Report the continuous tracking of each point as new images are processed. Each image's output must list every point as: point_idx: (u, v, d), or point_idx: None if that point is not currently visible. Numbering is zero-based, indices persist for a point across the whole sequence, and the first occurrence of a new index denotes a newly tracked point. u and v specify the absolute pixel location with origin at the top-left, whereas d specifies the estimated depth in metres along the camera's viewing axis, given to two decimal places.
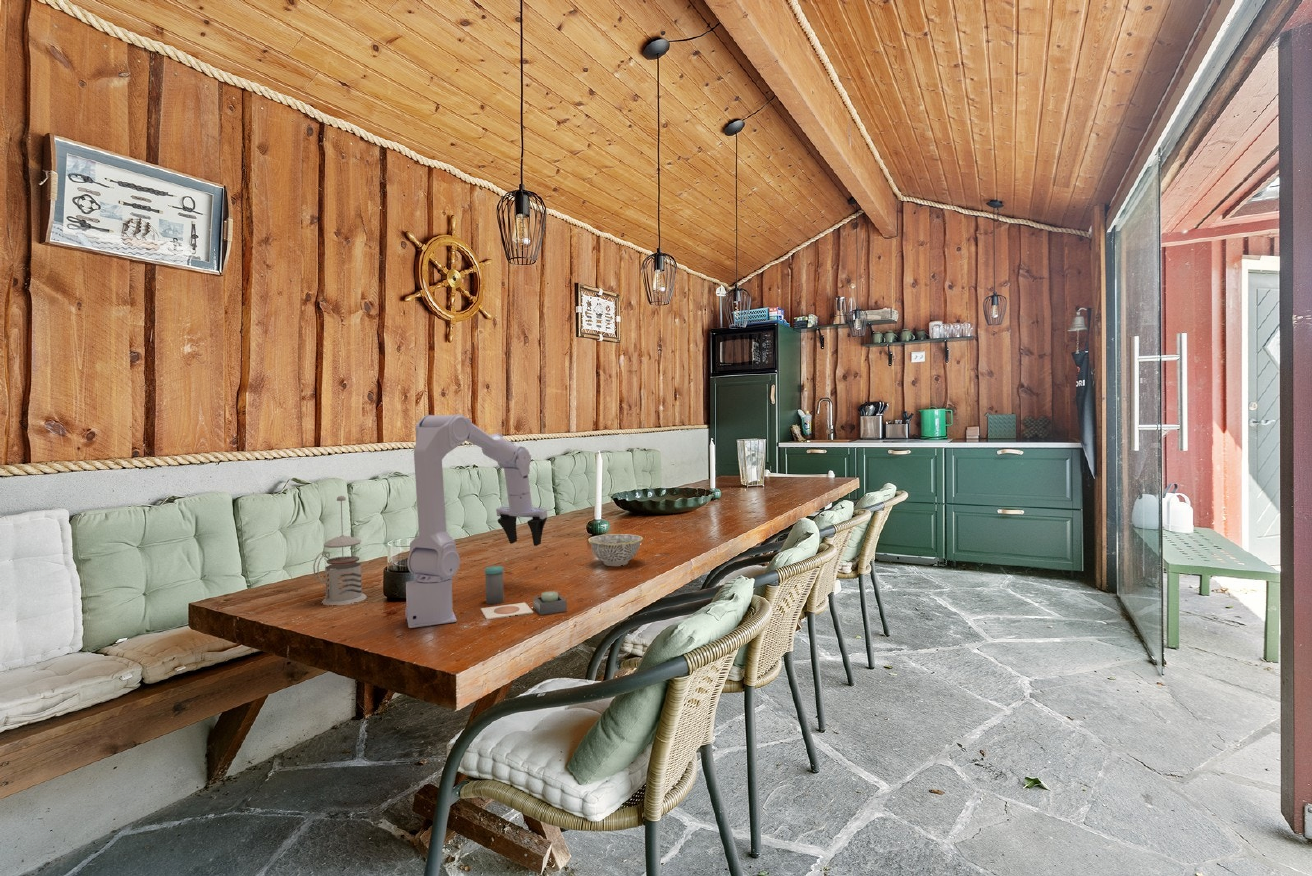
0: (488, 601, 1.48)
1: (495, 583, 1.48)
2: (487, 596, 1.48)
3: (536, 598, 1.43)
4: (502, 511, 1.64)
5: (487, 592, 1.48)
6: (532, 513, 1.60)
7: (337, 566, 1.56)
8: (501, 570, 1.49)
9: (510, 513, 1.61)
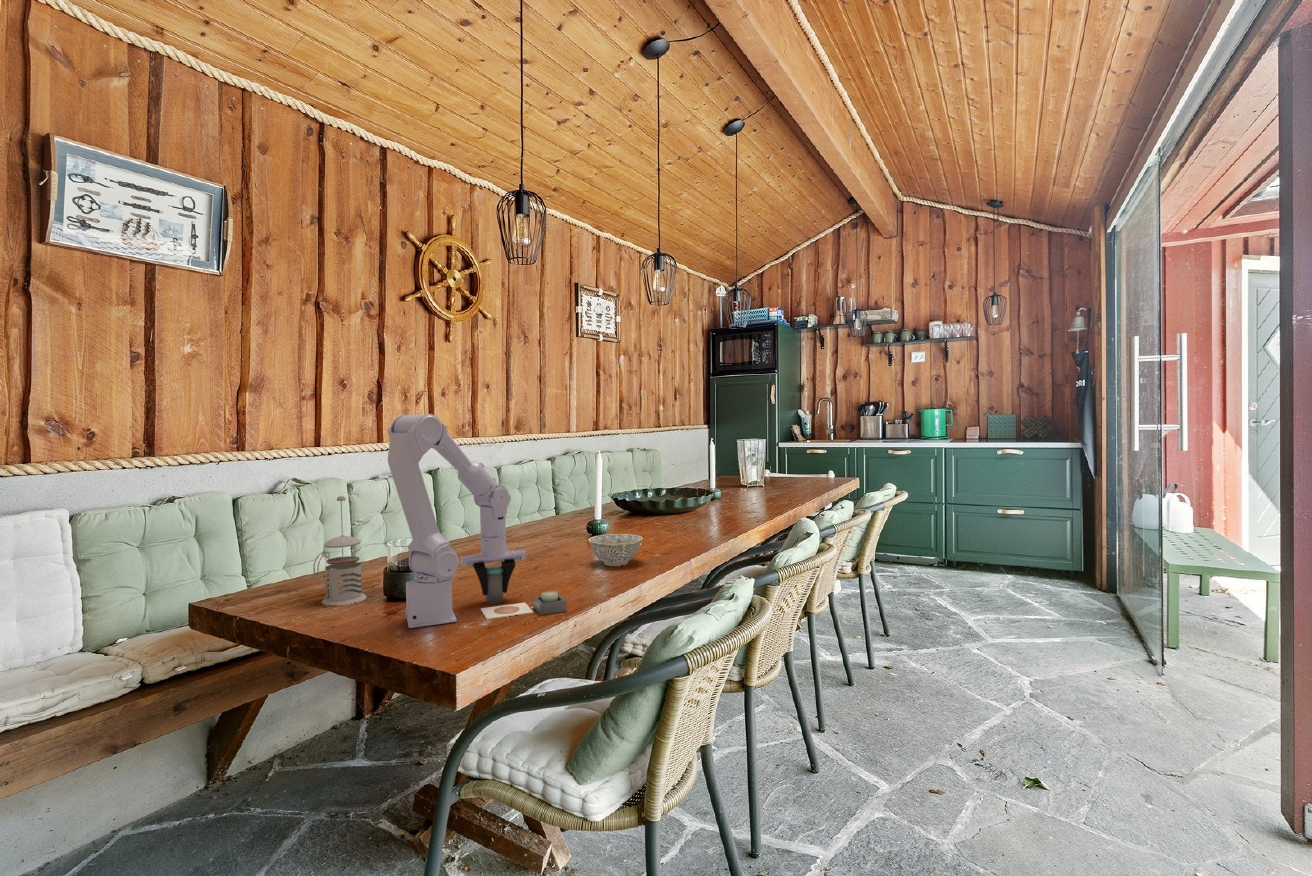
0: (488, 601, 1.48)
1: (495, 583, 1.48)
2: (487, 596, 1.48)
3: (536, 598, 1.43)
4: (473, 559, 1.46)
5: (487, 592, 1.48)
6: (515, 554, 1.50)
7: (337, 566, 1.56)
8: (501, 570, 1.49)
9: (490, 558, 1.46)
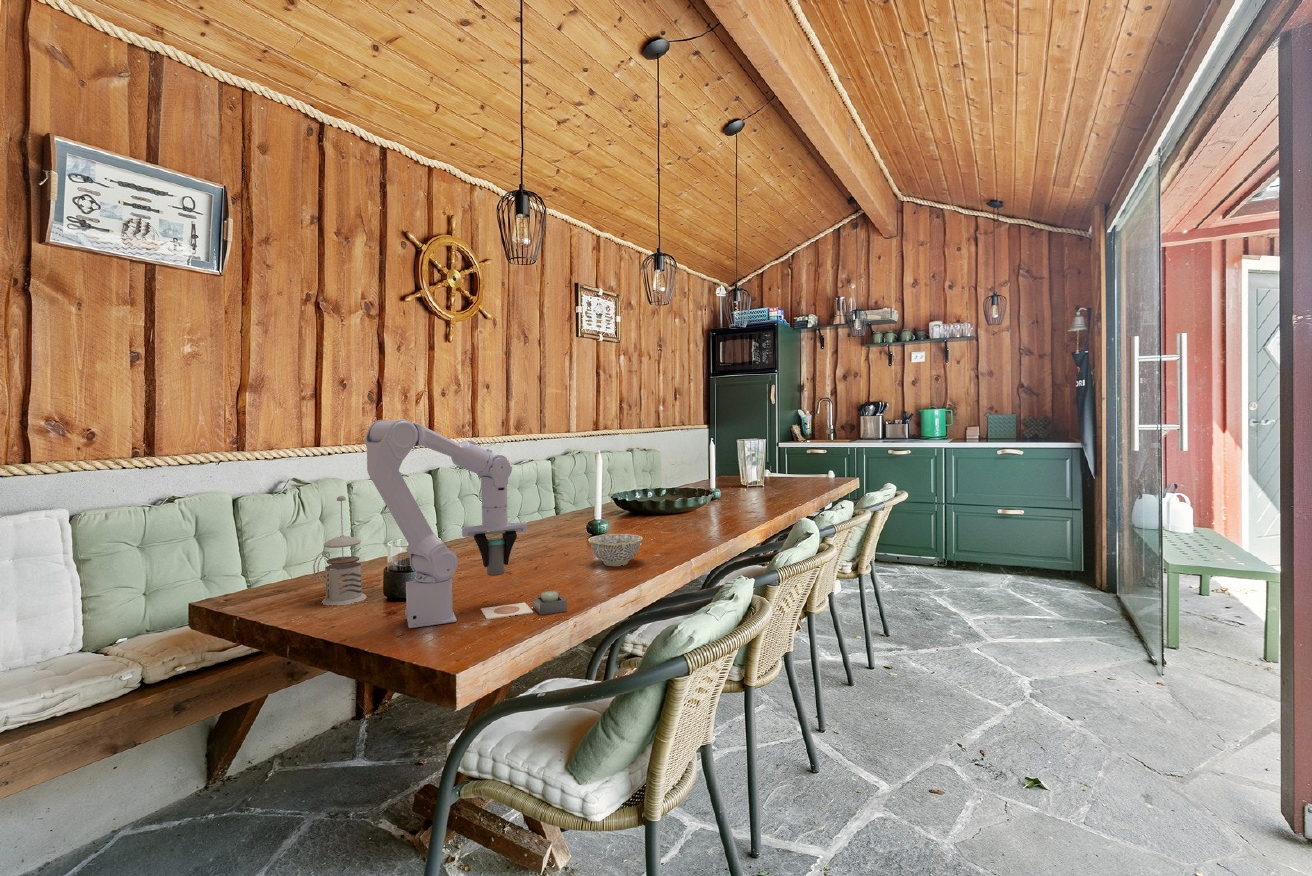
0: (489, 572, 1.46)
1: (496, 555, 1.46)
2: (488, 568, 1.46)
3: (536, 598, 1.43)
4: (474, 529, 1.44)
5: (488, 564, 1.46)
6: (516, 526, 1.48)
7: (337, 566, 1.56)
8: (502, 541, 1.47)
9: (491, 529, 1.45)
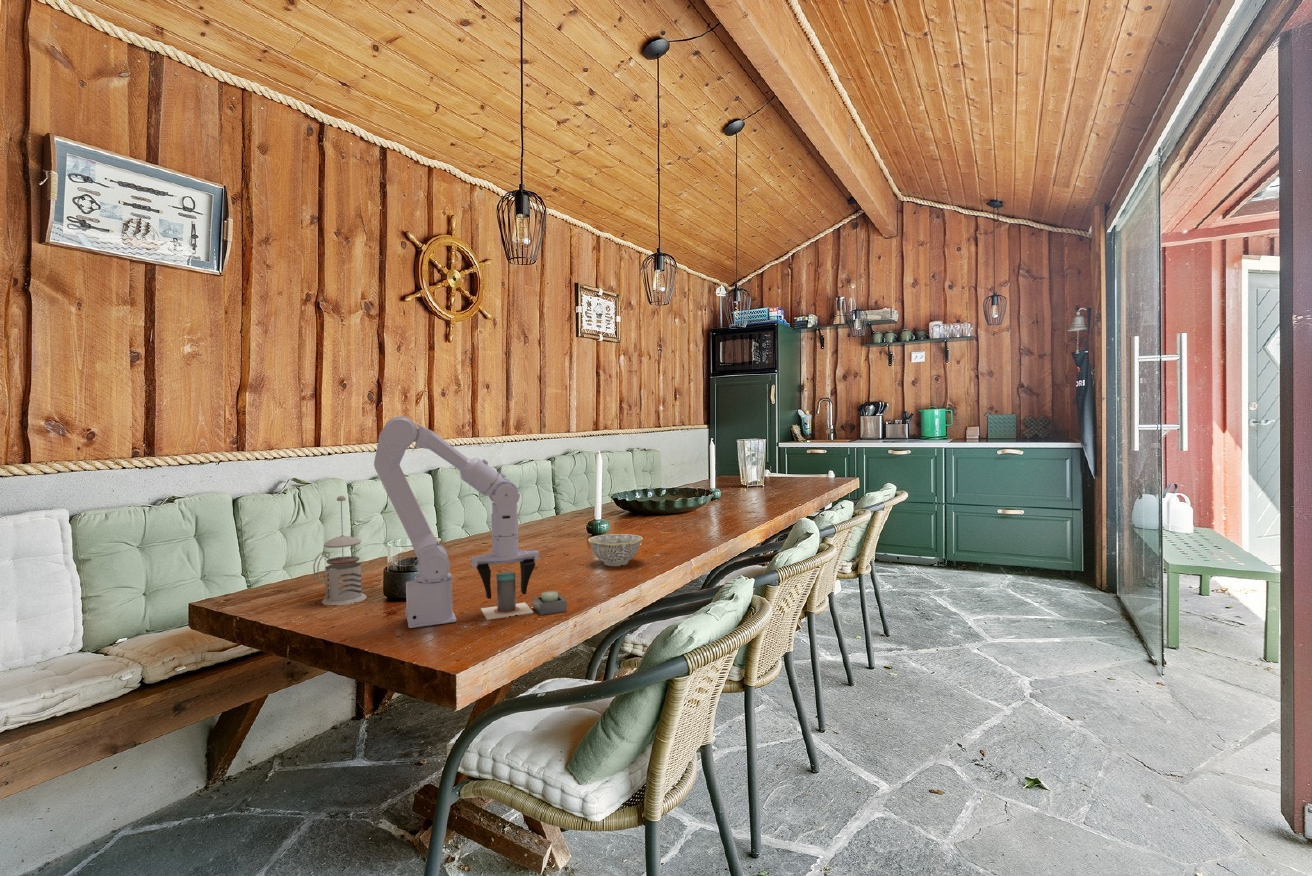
0: (500, 609, 1.40)
1: (507, 590, 1.40)
2: (499, 604, 1.40)
3: (536, 598, 1.43)
4: (484, 559, 1.38)
5: (499, 600, 1.40)
6: (527, 555, 1.42)
7: (337, 566, 1.56)
8: (513, 576, 1.41)
9: (502, 558, 1.38)
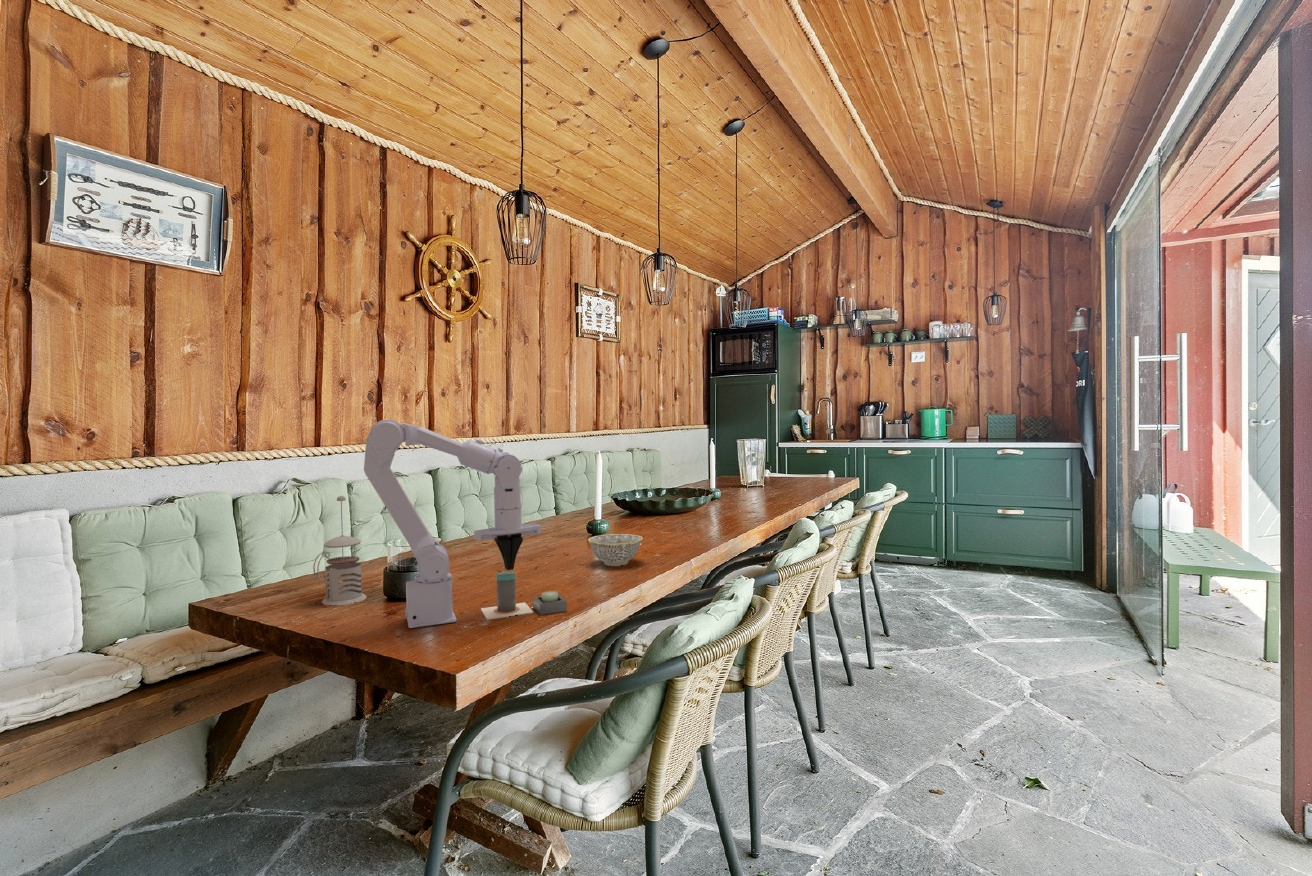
0: (500, 609, 1.40)
1: (507, 590, 1.40)
2: (499, 604, 1.40)
3: (536, 598, 1.43)
4: (488, 532, 1.38)
5: (499, 600, 1.40)
6: (530, 528, 1.42)
7: (337, 566, 1.56)
8: (513, 576, 1.41)
9: (506, 531, 1.38)
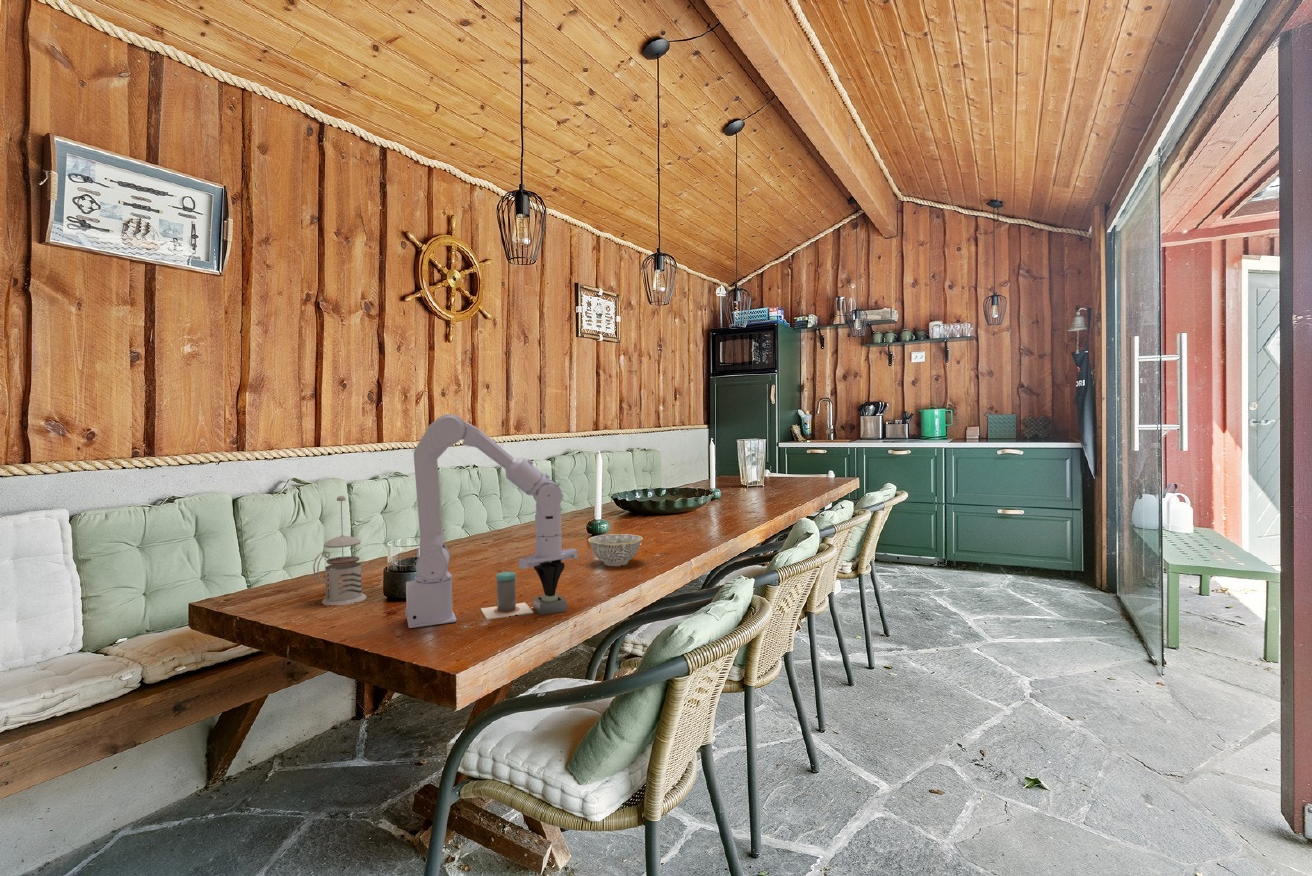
0: (500, 609, 1.40)
1: (507, 590, 1.40)
2: (499, 604, 1.40)
3: (536, 598, 1.43)
4: (534, 560, 1.38)
5: (499, 600, 1.40)
6: (569, 553, 1.45)
7: (337, 566, 1.56)
8: (513, 576, 1.41)
9: (551, 558, 1.40)
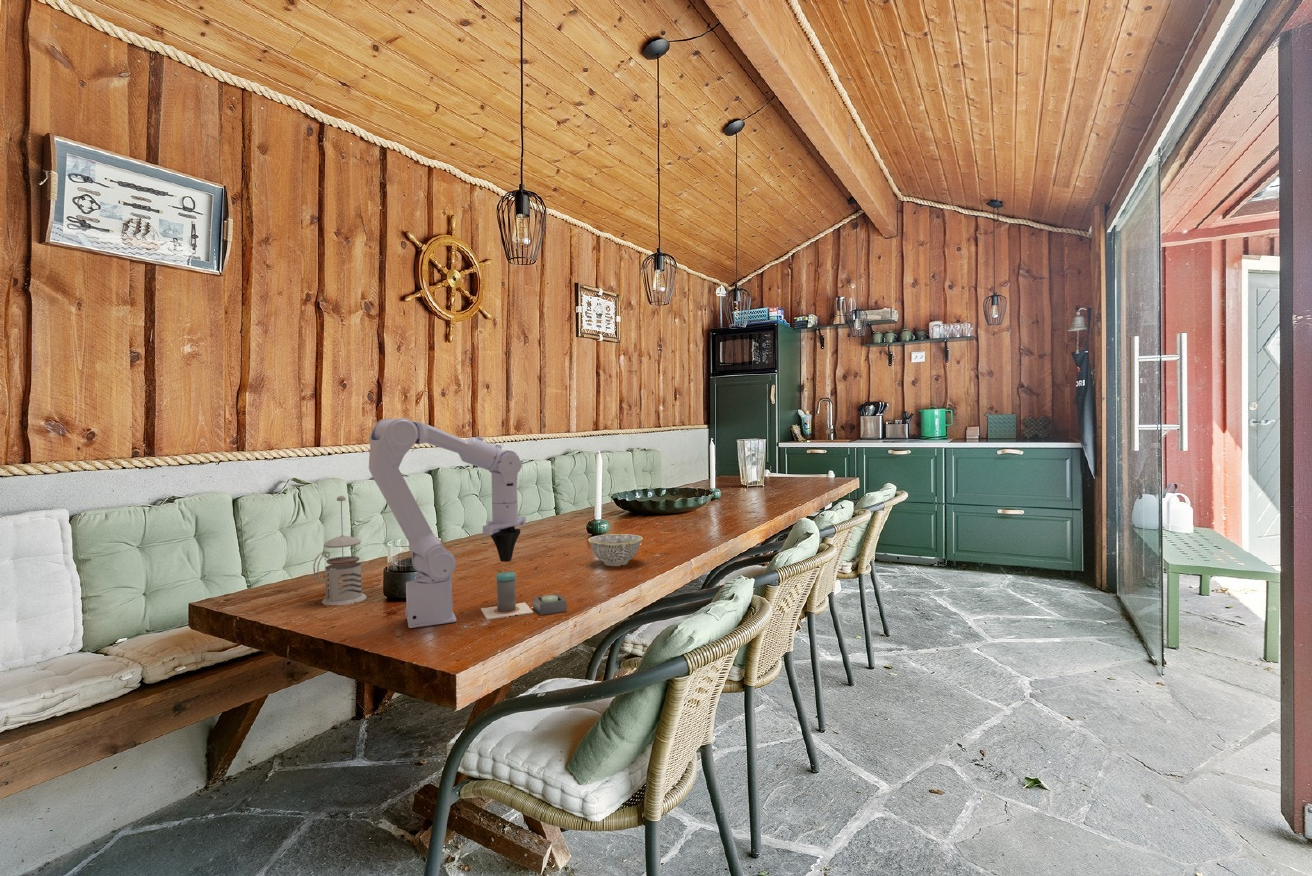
0: (500, 609, 1.40)
1: (507, 590, 1.40)
2: (499, 604, 1.40)
3: (536, 598, 1.43)
4: (498, 526, 1.42)
5: (499, 600, 1.40)
6: (521, 520, 1.51)
7: (337, 566, 1.56)
8: (513, 576, 1.41)
9: (512, 523, 1.45)
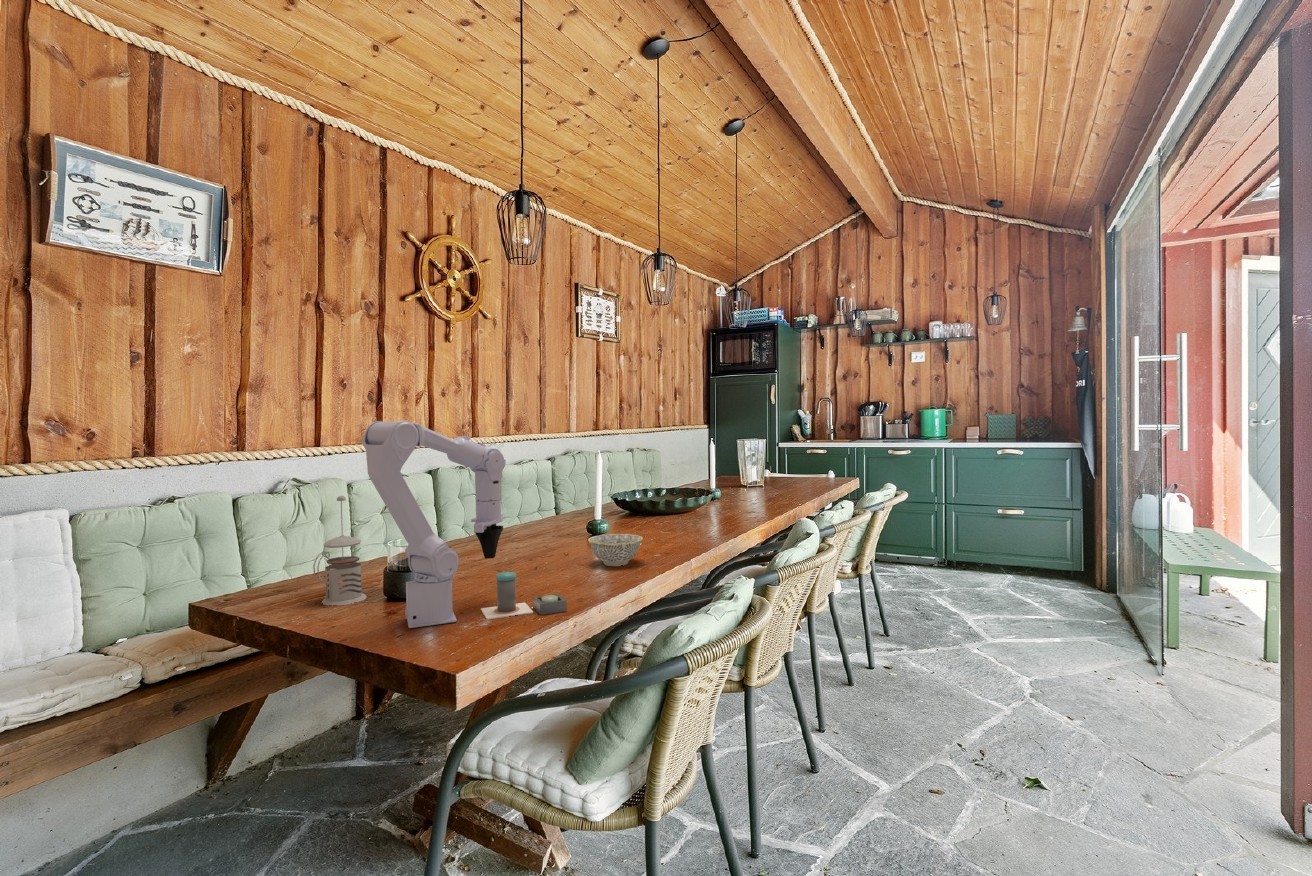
0: (500, 609, 1.40)
1: (507, 590, 1.40)
2: (499, 604, 1.40)
3: (536, 598, 1.43)
4: (488, 523, 1.44)
5: (499, 600, 1.40)
6: (501, 516, 1.53)
7: (337, 566, 1.56)
8: (513, 576, 1.41)
9: (498, 520, 1.47)
